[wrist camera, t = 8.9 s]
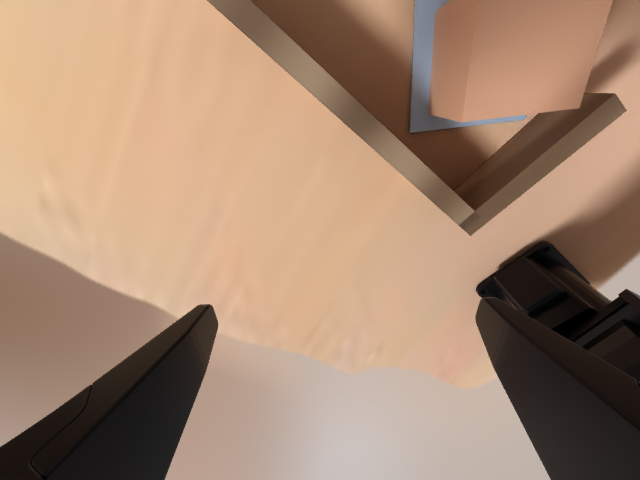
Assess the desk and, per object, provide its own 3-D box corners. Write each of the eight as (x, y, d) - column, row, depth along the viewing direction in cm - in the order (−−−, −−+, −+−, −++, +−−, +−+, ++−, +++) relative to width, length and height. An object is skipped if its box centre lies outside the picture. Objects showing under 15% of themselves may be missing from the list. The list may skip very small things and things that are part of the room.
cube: (512, 103, 16) (579, 108, 12) (428, 114, 17) (462, 122, 12) (534, -4, 14) (628, -48, 9) (435, 11, 14) (480, -24, 10)
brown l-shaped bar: (571, 107, 16) (626, 110, 13) (449, 213, 20) (470, 235, 17) (321, -224, 11) (318, -346, 8) (217, 5, 15) (187, -17, 12)
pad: (557, -32, 13) (560, -34, 13) (523, 119, 17) (525, 119, 17) (415, -9, 14) (416, -10, 14) (409, 132, 17) (410, 132, 17)
